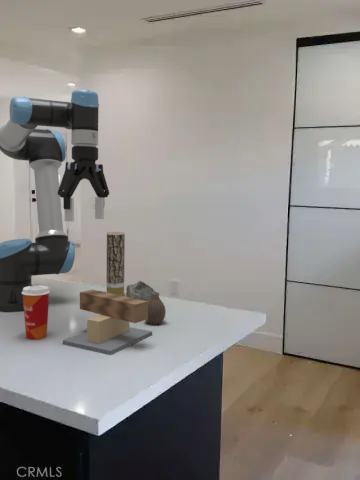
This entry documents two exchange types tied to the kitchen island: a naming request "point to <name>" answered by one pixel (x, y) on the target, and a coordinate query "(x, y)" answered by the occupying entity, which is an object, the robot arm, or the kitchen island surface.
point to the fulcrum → (107, 335)
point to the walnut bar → (114, 306)
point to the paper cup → (36, 311)
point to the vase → (155, 310)
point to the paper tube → (115, 262)
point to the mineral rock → (140, 291)
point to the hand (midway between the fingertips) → (84, 220)
